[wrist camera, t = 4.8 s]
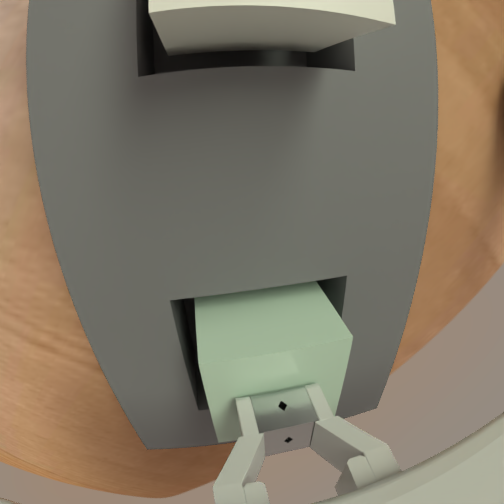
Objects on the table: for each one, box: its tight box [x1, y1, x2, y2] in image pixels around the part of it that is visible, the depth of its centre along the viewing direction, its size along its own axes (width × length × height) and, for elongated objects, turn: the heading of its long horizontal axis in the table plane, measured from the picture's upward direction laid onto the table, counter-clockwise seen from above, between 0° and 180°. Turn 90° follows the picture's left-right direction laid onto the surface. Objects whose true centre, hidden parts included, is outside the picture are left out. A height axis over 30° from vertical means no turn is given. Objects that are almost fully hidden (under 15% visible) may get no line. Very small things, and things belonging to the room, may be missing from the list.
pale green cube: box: [194, 281, 353, 443], centre depth 13 cm, size 5×5×5 cm
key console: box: [26, 0, 438, 449], centre depth 12 cm, size 14×28×5 cm, turn 3°
